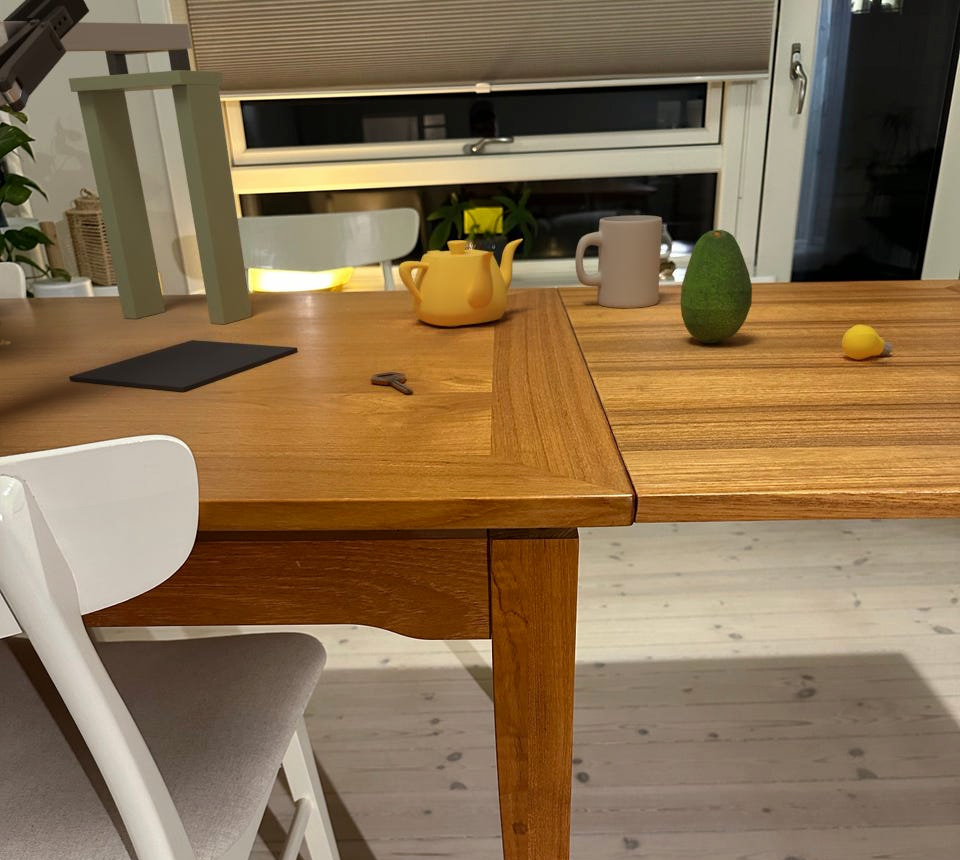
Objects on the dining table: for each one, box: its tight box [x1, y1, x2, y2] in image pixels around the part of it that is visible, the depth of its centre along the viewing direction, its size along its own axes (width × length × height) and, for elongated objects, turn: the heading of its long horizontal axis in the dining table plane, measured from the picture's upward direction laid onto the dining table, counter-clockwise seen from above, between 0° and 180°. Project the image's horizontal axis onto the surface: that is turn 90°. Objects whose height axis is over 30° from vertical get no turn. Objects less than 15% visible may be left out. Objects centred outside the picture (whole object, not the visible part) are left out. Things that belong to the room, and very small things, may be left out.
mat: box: [68, 339, 299, 393], centre depth 108 cm, size 16×20×1 cm
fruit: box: [679, 229, 753, 344], centre depth 107 cm, size 8×8×12 cm
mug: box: [574, 215, 663, 309], centre depth 132 cm, size 12×8×11 cm
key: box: [370, 371, 414, 394], centre depth 96 cm, size 4×8×1 cm, turn 26°
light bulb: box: [841, 324, 893, 361], centre depth 100 cm, size 3×6×4 cm, turn 108°
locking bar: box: [0, 20, 193, 52], centre depth 93 cm, size 2×24×2 cm, turn 154°
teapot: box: [398, 238, 524, 328], centre depth 125 cm, size 14×13×10 cm
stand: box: [68, 49, 252, 325], centre depth 129 cm, size 18×8×34 cm, turn 64°
